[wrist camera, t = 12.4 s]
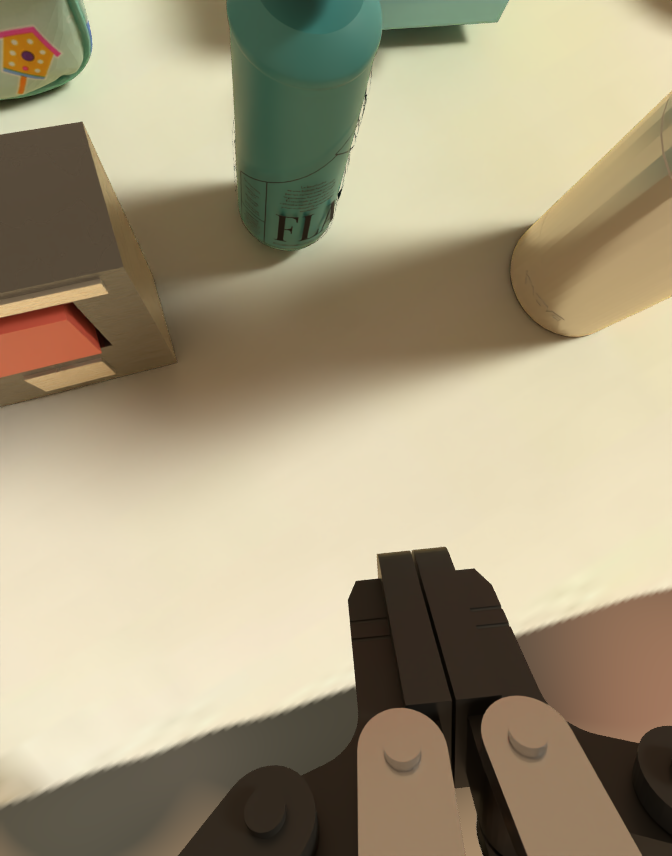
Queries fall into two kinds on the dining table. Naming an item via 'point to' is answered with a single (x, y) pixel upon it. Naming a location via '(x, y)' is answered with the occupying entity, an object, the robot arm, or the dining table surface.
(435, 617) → the robot arm
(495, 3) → the teapot
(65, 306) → the rocker outlet
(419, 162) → the dining table surface
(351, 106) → the beverage bottle
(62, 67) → the lunch box
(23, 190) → the dark grey switch housing
